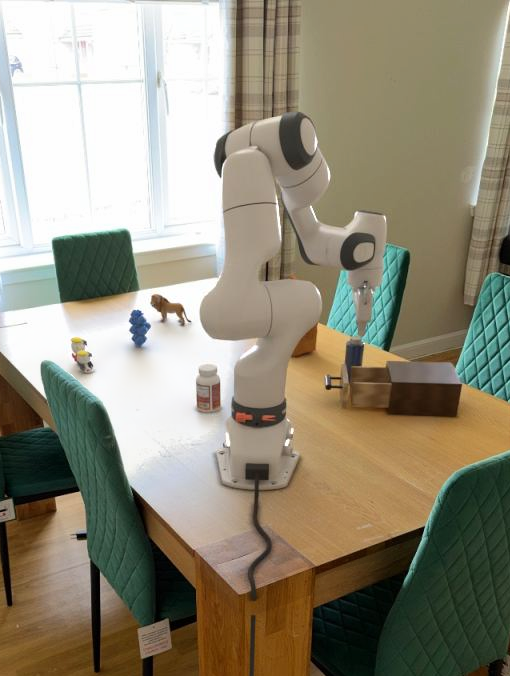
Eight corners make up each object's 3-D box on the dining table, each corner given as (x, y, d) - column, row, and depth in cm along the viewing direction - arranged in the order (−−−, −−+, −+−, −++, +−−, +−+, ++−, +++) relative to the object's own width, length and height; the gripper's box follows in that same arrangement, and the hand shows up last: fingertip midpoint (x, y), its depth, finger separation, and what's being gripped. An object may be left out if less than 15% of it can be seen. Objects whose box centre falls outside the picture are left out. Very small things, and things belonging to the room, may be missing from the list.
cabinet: (388, 414, 187) (392, 381, 182) (382, 392, 199) (386, 360, 195) (456, 417, 185) (462, 384, 180) (446, 394, 198) (452, 362, 193)
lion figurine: (148, 322, 254) (147, 295, 249) (155, 317, 258) (153, 291, 253) (188, 326, 249) (188, 299, 245) (194, 321, 254) (193, 295, 249)
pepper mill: (361, 384, 204) (365, 341, 198) (343, 383, 205) (347, 340, 198) (359, 377, 208) (364, 335, 202) (342, 377, 209) (346, 334, 202)
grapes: (158, 350, 230) (157, 311, 223) (138, 353, 227) (135, 314, 221) (145, 338, 239) (143, 301, 232) (126, 341, 236) (123, 304, 230)
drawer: (324, 408, 188) (326, 382, 185) (323, 387, 200) (325, 363, 196) (404, 410, 186) (407, 385, 183) (398, 390, 198) (401, 365, 194)
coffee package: (299, 341, 235) (303, 270, 223) (320, 353, 225) (325, 280, 214) (271, 346, 231) (274, 274, 220) (291, 358, 222) (295, 284, 210)
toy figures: (95, 373, 213) (92, 345, 209) (80, 375, 212) (77, 347, 208) (84, 359, 223) (81, 332, 218) (70, 362, 221) (67, 334, 217)
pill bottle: (217, 402, 195) (216, 361, 189) (223, 411, 190) (223, 370, 184) (194, 404, 193) (193, 364, 188) (199, 414, 188) (199, 372, 183)
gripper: (380, 287, 182) (374, 342, 189) (374, 268, 199) (369, 319, 206) (354, 287, 183) (349, 341, 190) (350, 268, 200) (346, 318, 207)
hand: (360, 329), depth 198 cm, fingers open, 8 cm apart
